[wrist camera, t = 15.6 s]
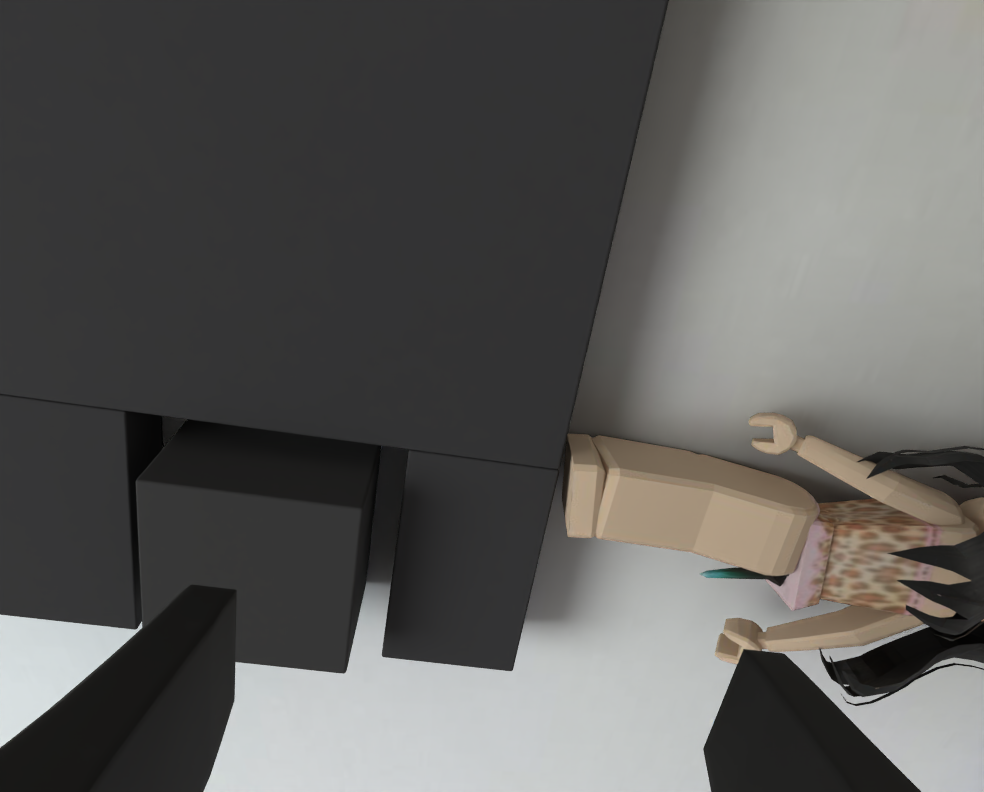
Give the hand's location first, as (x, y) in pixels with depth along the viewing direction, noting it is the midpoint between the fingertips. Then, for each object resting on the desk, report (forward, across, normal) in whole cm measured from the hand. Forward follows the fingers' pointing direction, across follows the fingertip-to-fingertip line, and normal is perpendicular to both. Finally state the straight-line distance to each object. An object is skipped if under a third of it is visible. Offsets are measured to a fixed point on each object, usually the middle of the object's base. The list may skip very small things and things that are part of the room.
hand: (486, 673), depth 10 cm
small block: (+9, +5, +4) cm, 11 cm away
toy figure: (+10, -10, +2) cm, 14 cm away
